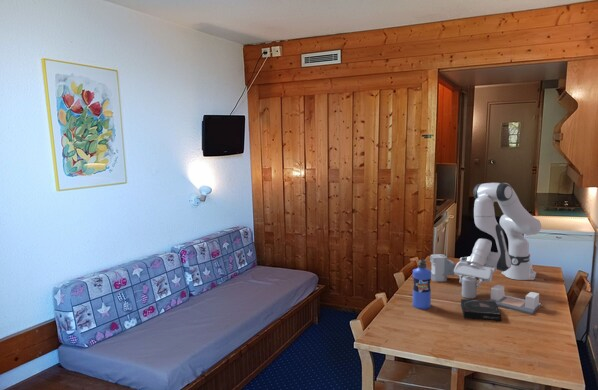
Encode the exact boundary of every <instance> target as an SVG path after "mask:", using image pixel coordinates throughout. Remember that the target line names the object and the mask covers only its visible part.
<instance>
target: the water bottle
mask: <svg viewBox="0 0 598 390" xmlns="http://www.w3.org/2000/svg"><path fill="white" fill-rule="evenodd" d="M426 262H427V261H426V260H425V259H422V258H421V259H419V260H418V263H417V268H414V269H412V281H413V286H412V287H413V288H412V306H413V308H415V309H418V310H419V309H420V310H429V309H431V303H432V300H431V299H432V296H431V294H432V293H431V292H432V289H431V280H432V279H431V275H432V273H431V270H432V269H431V270H430V269H428V268H427V263H426Z"/></svg>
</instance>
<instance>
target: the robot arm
mask: <svg viewBox="0 0 598 390" xmlns="http://www.w3.org/2000/svg"><path fill="white" fill-rule="evenodd" d="M472 193H473V197H474V199H475V200H474V204H473V206H474V207H473V219H474V221H473V222H474V224H475V227H476V228H477V229H479V231H482V232H484V233H487V234H488V235H490V236H492V238H493V239H494V240H495V244H496V248H497V252H494V251H491V249H492V244H493V243H492V240H490V239H487V238H485V237H484V238H483V237H481V238H478V239H477V240H476V241H475V243H474V246H473V248H472V252H471V254H470V256H464V257H463V256H462V257H460V258H459V261H457V263H456V265H454V266H455V269H454V275H456V276H458V277H459V281H458V282H459V283H460V284H462V278H463V277H464V275H467V276H468V275H469V276H470V275H471V276H472V277H475V278H476V279H477V281H478V282H477V283H476V284H475V286H476V287H477V288H479V287H480V285H482V284H483V283H484V282H486V283H490V282H492V281H493V280H492V279H493V277H494V275H493V274H494V273H495V271H496V270H497V271H501V274H502V275H503V276H505V277H506V278H508V279H512V280H517V281H529V280H530V281H533V280H535V279H536V276H537V272H536V271H534V270H533V267H534V266H533V264H532V263H531V261H530V258H531V254H530V253H529V252H530V244H529V241H528V240H527V239H526V238H525V236H524V235H528V236H529V235H530V236H533V235H537V234H539V233H540V231H541V230H542V229H541V228H542V223H541V221H540V220H539V219H537V217H534V216H533V215H532V214H531V213H529V211H527V209H525V207H524V206H523V204H522V203H521V201H520V199H519V197H518V195H517V193H516V192H515V190H514V188H513V187H512V186H511V185H510V184H509V183H507V182H501V183H500V182H486V183H482V182H481V183H478V184H476V185H475V186H474V188H473V191H472ZM495 202H497V203H498V206H499V209H501V212H502V215H501V216H500V218H499V223H498V222H497V219H496V213H495V206H494V203H495ZM505 234H506V237H507V241H506V237H505ZM507 242H508V246H507Z"/></svg>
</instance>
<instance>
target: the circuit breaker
mask: <svg viewBox="0 0 598 390" xmlns="http://www.w3.org/2000/svg"><path fill="white" fill-rule="evenodd" d="M429 257H430V258H429V262H430V263H431V280H432V282H433V283H435V282H448V276H455V273H454V269H455V266H456V265H455V262H453V261H452V260H451V259H448V257H447V255H445V254H442V253H440V254H438V253H437V254H436V253H435V254H430V256H429Z"/></svg>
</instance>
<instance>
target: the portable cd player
mask: <svg viewBox="0 0 598 390" xmlns="http://www.w3.org/2000/svg"><path fill="white" fill-rule="evenodd" d="M460 306H461V311H462V315H463V318H464V319H465V320H477V321H487V322H488V321H490V322H502V313H501V311H500V308H499V307H498V306H497V304H496V302H495V301H487V300H480V299H467V298H461V299H460Z"/></svg>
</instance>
